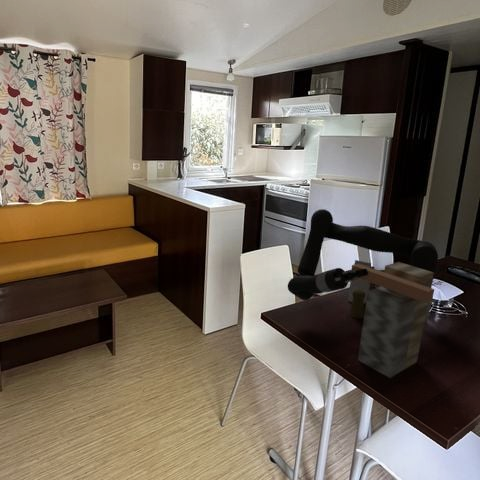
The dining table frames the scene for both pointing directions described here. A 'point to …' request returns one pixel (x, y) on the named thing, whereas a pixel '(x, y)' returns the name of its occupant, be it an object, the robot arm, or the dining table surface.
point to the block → (396, 284)
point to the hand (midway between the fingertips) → (370, 270)
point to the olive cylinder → (357, 304)
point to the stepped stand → (393, 323)
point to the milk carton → (359, 283)
